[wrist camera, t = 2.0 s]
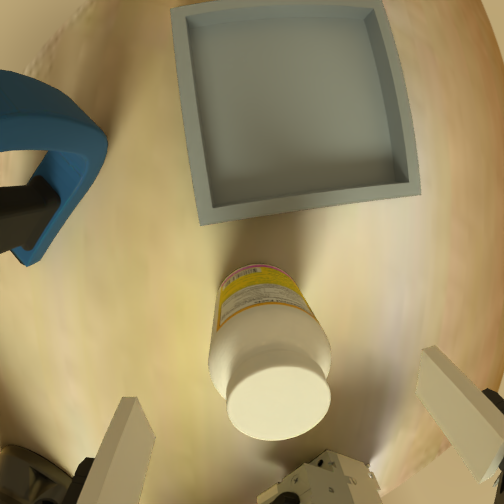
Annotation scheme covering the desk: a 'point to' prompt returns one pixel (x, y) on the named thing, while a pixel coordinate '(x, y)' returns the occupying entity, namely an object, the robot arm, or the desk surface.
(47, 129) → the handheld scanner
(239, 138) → the tray
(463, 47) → the desk surface
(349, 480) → the circuit breaker
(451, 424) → the robot arm
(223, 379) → the supplement bottle
